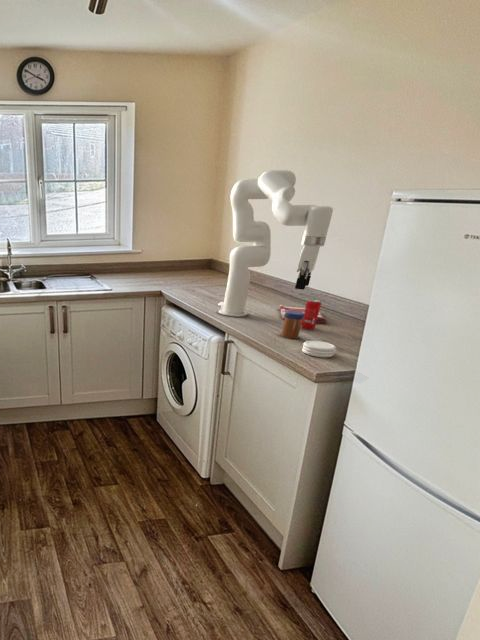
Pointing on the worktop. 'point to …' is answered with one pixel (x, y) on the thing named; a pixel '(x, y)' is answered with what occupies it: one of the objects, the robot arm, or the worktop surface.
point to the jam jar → (291, 328)
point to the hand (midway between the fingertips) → (301, 287)
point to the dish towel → (300, 309)
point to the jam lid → (294, 314)
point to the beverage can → (311, 314)
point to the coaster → (318, 349)
